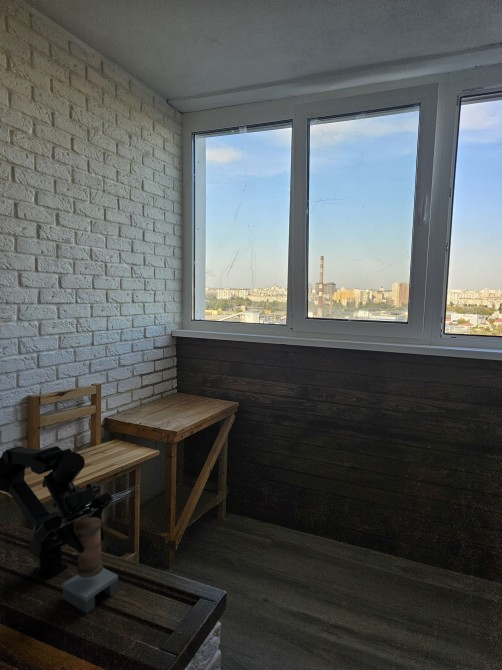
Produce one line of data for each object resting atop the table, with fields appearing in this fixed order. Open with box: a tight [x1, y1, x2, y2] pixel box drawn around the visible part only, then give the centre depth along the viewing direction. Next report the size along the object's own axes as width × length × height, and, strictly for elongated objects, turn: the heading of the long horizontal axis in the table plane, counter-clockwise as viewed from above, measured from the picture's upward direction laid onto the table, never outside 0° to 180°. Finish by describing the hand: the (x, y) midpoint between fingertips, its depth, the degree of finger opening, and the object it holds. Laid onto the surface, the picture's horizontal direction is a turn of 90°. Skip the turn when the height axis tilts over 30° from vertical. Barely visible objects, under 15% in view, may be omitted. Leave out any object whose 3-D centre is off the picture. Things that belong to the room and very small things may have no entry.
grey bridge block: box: [62, 567, 120, 614], centre depth 107 cm, size 9×9×4 cm
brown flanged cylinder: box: [74, 517, 104, 578], centre depth 106 cm, size 6×6×12 cm
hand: (92, 546), depth 105 cm, fingers closed on brown flanged cylinder, 5 cm apart
